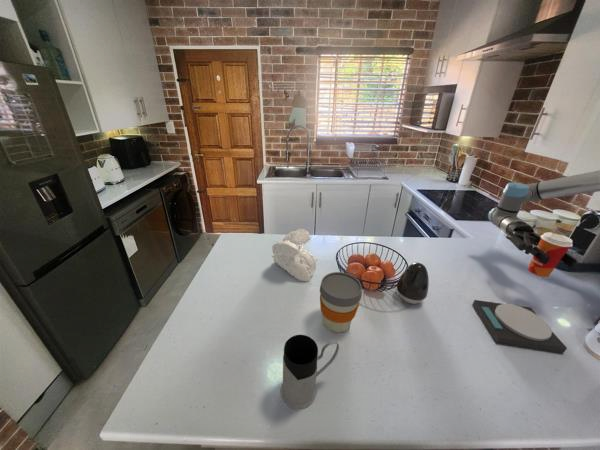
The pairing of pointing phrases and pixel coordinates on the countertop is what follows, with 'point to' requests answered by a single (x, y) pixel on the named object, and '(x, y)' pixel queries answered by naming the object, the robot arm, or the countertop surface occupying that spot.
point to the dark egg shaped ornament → (413, 283)
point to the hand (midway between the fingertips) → (560, 262)
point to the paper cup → (550, 253)
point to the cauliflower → (295, 255)
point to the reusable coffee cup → (339, 300)
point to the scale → (517, 326)
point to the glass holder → (302, 370)
